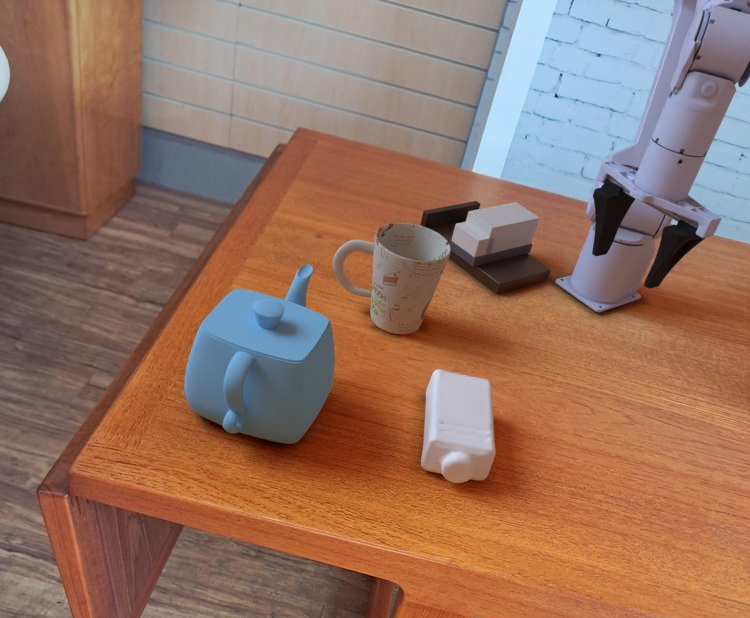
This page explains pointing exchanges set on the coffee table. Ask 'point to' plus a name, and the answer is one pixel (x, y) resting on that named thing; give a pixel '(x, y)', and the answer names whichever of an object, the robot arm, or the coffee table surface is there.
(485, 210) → the white stepped block
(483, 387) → the white bottle
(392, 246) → the mug
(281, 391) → the teapot
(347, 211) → the coffee table surface
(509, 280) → the shoe shelf
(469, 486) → the coffee table surface
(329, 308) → the coffee table surface
